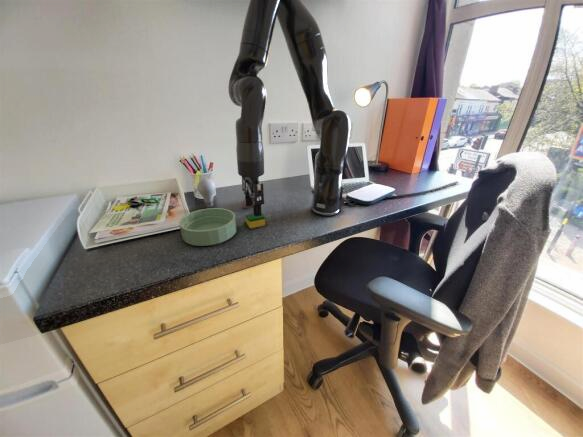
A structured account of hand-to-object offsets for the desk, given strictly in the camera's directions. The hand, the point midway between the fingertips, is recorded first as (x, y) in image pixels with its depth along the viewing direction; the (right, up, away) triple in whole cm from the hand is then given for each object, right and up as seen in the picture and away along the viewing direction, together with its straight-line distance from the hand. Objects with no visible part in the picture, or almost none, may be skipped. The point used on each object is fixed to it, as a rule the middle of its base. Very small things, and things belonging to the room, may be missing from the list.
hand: (253, 210), depth 73 cm
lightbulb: (-18, +1, +14) cm, 23 cm away
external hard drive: (+45, +7, +26) cm, 52 cm away
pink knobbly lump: (-2, +3, +17) cm, 17 cm away
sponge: (+1, -4, +2) cm, 5 cm away
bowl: (-12, -7, -4) cm, 14 cm away
